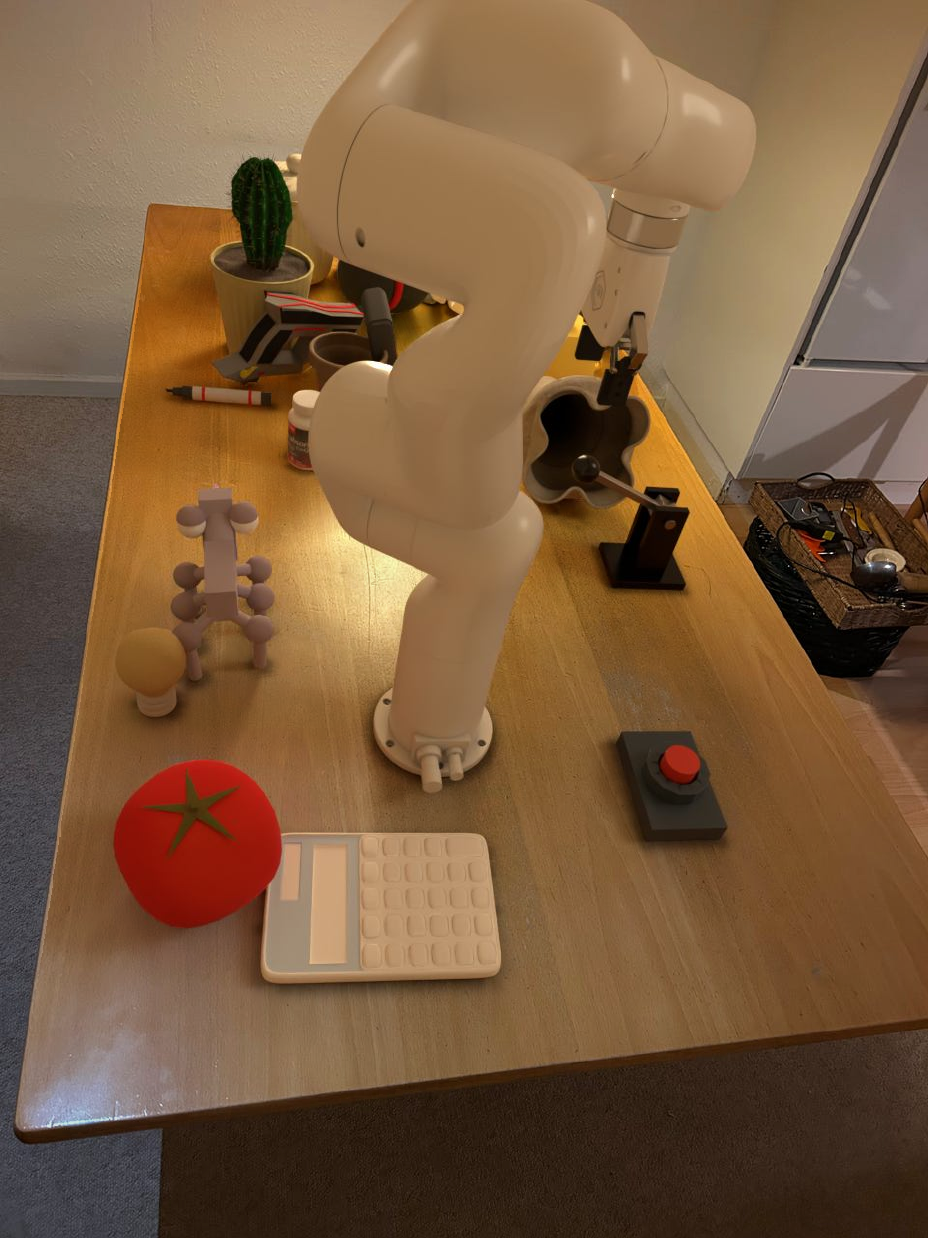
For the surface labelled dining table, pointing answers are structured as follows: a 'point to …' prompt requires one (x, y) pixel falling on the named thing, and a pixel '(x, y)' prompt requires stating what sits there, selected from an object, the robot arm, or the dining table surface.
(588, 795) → the dining table surface
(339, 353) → the flower pot
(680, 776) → the button
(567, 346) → the teapot
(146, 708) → the light bulb
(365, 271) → the toy
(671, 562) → the bracket
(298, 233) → the canister
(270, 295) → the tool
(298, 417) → the pill bottle
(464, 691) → the robot arm
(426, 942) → the calculator
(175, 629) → the toy insect
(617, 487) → the lever
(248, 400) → the marker
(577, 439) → the vase
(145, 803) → the tomato
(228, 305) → the potted cactus
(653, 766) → the button box
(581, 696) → the dining table surface
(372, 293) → the card reader
